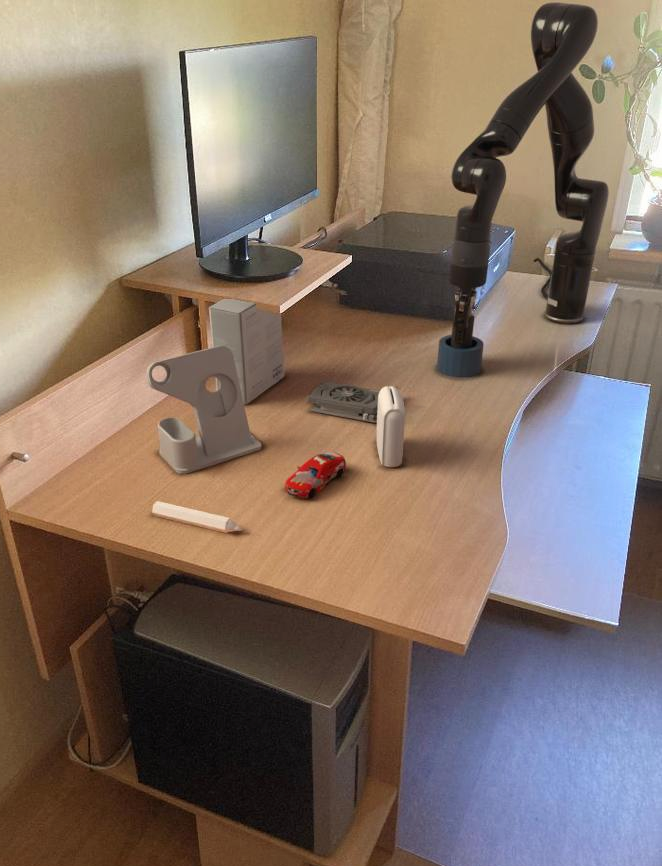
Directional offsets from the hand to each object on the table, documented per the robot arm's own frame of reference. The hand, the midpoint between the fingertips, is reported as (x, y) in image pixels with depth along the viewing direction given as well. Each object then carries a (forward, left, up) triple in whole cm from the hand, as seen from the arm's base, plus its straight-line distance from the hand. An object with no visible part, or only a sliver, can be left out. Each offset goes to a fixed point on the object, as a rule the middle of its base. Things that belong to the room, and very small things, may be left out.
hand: (461, 337), depth 168 cm
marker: (+70, -31, -8) cm, 77 cm away
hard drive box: (+21, -41, -8) cm, 47 cm away
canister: (0, 0, -7) cm, 7 cm away
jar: (0, 0, -8) cm, 8 cm away
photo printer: (+40, -7, -8) cm, 41 cm away
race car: (+53, -17, -8) cm, 56 cm away
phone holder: (+48, -39, -8) cm, 62 cm away
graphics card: (+23, -18, -8) cm, 30 cm away
